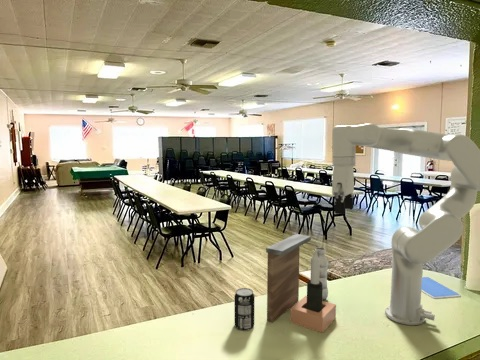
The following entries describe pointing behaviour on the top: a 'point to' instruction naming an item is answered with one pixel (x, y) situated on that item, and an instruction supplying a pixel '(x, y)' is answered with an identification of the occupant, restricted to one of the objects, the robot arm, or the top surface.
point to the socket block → (313, 315)
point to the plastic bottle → (323, 271)
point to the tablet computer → (436, 289)
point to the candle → (314, 286)
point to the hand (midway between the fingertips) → (344, 211)
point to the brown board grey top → (283, 275)
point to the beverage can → (244, 309)
